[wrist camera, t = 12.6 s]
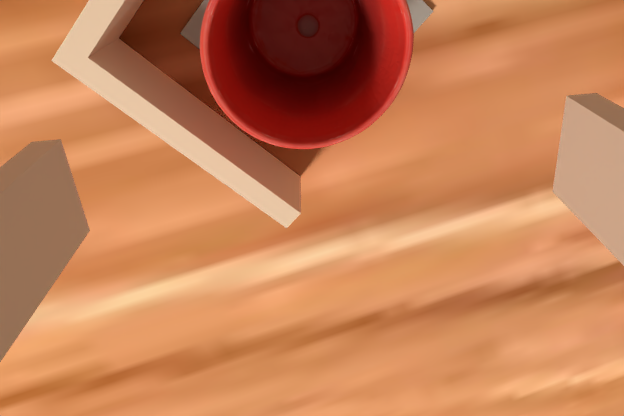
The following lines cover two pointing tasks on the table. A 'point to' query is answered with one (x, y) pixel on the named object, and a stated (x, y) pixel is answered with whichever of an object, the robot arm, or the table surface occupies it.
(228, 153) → the corner wall
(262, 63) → the flower pot
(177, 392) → the table surface
